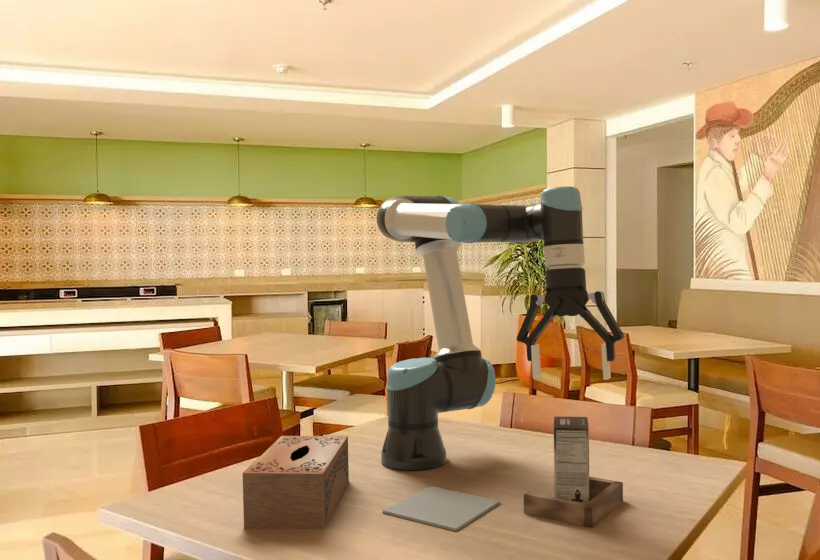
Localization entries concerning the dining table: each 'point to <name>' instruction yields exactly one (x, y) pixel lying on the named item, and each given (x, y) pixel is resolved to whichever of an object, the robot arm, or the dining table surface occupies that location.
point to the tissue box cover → (296, 482)
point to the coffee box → (571, 458)
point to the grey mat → (442, 508)
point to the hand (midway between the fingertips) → (571, 378)
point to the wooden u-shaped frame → (578, 504)
